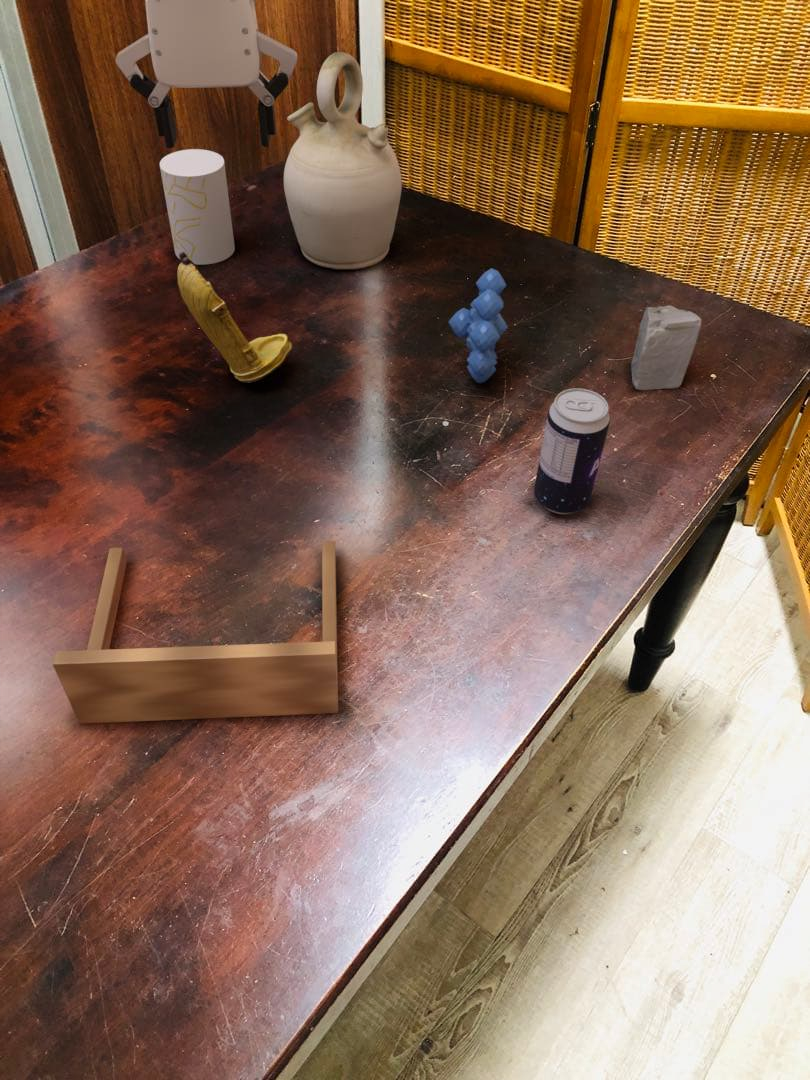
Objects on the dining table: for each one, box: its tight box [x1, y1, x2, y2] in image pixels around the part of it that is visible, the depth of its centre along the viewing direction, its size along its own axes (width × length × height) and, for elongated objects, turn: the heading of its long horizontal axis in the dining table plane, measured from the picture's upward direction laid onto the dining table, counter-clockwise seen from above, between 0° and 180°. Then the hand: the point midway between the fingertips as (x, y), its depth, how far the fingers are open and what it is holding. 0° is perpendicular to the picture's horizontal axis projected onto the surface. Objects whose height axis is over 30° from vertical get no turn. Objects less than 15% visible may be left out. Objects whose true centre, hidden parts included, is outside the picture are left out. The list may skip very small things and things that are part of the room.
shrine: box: [176, 251, 293, 384], centre depth 96 cm, size 12×8×15 cm
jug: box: [283, 51, 403, 271], centre depth 113 cm, size 15×16×25 cm
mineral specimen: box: [630, 304, 703, 391], centre depth 101 cm, size 7×9×8 cm
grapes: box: [448, 267, 509, 384], centre depth 99 cm, size 12×7×12 cm, turn 172°
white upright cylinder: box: [159, 148, 236, 266], centre depth 117 cm, size 8×8×12 cm
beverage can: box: [533, 387, 611, 515], centre depth 84 cm, size 6×6×12 cm
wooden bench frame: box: [52, 541, 339, 725], centre depth 73 cm, size 20×17×8 cm
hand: (219, 142), depth 91 cm, fingers open, 9 cm apart
